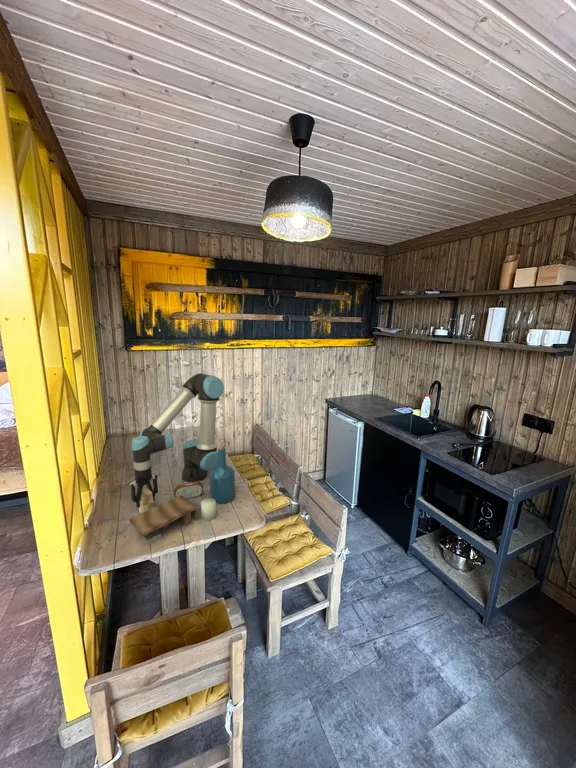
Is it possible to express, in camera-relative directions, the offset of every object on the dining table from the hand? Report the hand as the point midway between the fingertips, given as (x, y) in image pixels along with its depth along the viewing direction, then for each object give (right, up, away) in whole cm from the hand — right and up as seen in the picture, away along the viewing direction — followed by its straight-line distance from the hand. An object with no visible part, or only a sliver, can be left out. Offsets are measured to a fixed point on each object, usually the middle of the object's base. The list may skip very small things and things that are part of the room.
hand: (146, 509), depth 162 cm
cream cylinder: (+33, -2, -5) cm, 33 cm away
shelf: (+14, -3, -12) cm, 19 cm away
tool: (+6, -2, -5) cm, 9 cm away
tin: (+18, +2, +12) cm, 22 cm away
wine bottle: (+37, +2, +12) cm, 39 cm away
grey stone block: (+11, -5, -21) cm, 24 cm away
